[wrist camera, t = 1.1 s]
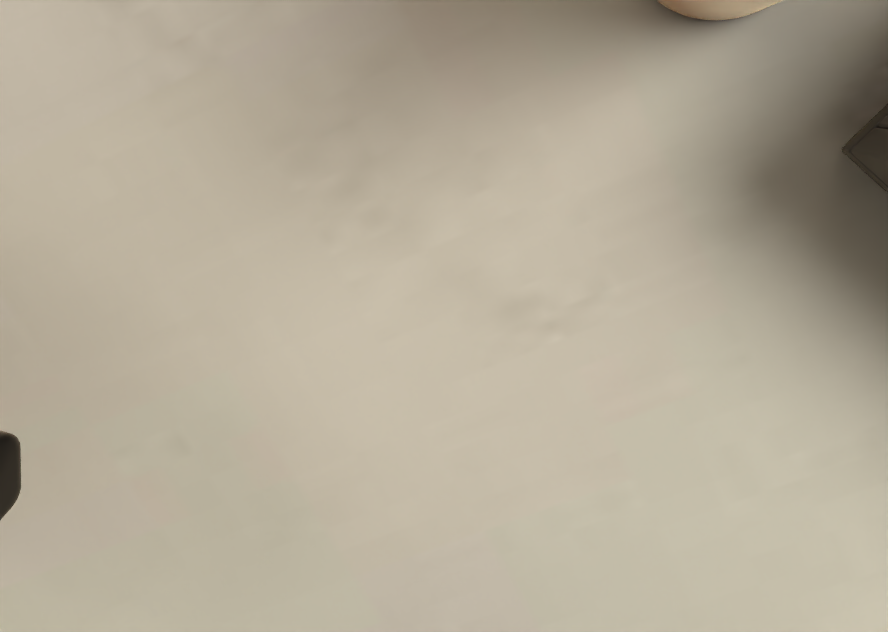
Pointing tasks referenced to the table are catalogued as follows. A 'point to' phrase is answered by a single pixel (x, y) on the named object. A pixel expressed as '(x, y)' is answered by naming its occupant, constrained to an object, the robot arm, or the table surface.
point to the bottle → (717, 8)
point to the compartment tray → (872, 148)
